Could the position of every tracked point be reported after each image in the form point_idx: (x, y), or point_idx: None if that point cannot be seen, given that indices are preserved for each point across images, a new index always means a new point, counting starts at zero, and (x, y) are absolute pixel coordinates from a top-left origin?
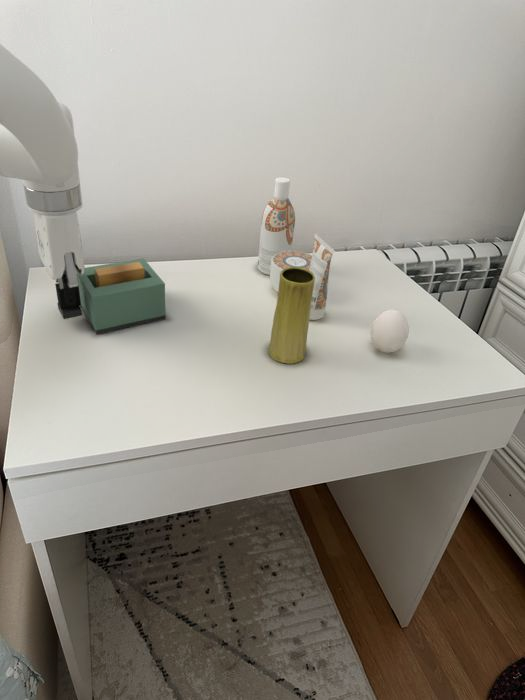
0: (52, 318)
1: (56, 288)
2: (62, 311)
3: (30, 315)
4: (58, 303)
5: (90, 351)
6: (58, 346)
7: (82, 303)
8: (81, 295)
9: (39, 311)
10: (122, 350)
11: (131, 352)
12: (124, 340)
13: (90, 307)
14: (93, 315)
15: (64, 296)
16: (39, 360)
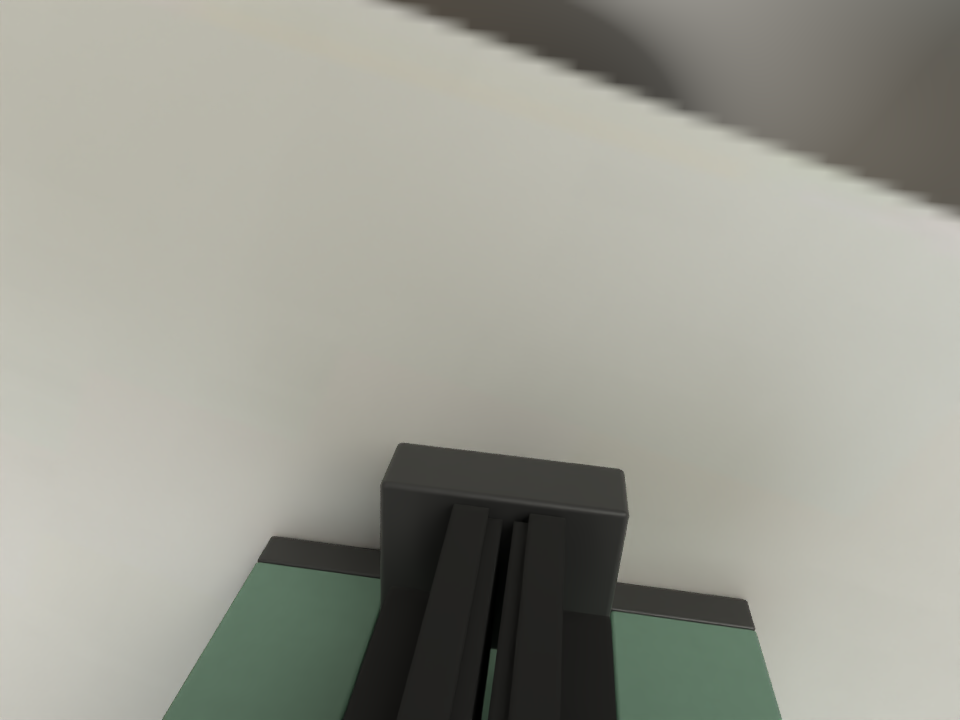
0: (670, 357)
1: (512, 707)
2: (419, 493)
3: (856, 196)
4: (559, 523)
5: (78, 426)
6: (206, 254)
7: (619, 651)
8: None
9: (873, 298)
10: (46, 582)
11: (14, 609)
12: (152, 633)
13: (283, 716)
14: (215, 668)
15: (409, 667)
16: (37, 37)
